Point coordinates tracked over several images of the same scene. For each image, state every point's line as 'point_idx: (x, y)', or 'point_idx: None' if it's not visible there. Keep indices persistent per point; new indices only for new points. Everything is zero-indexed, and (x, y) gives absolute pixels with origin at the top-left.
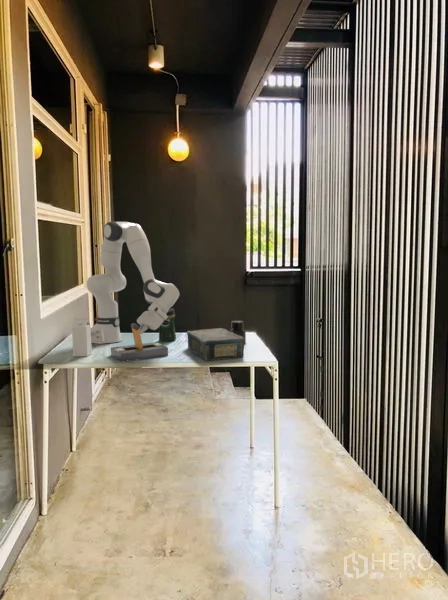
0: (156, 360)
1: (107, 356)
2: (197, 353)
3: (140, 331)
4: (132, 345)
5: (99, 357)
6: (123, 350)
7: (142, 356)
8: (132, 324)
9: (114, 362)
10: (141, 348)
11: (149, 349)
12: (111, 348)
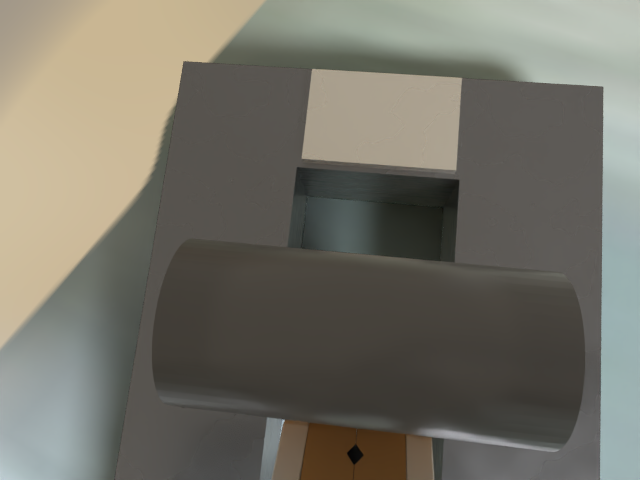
0: (12, 422)
1: None
2: None
3: (281, 448)
4: None
5: (549, 5)
6: (304, 138)
7: None
8: (451, 281)
9: (241, 47)
10: (437, 470)
11: (143, 450)
12: (568, 87)
